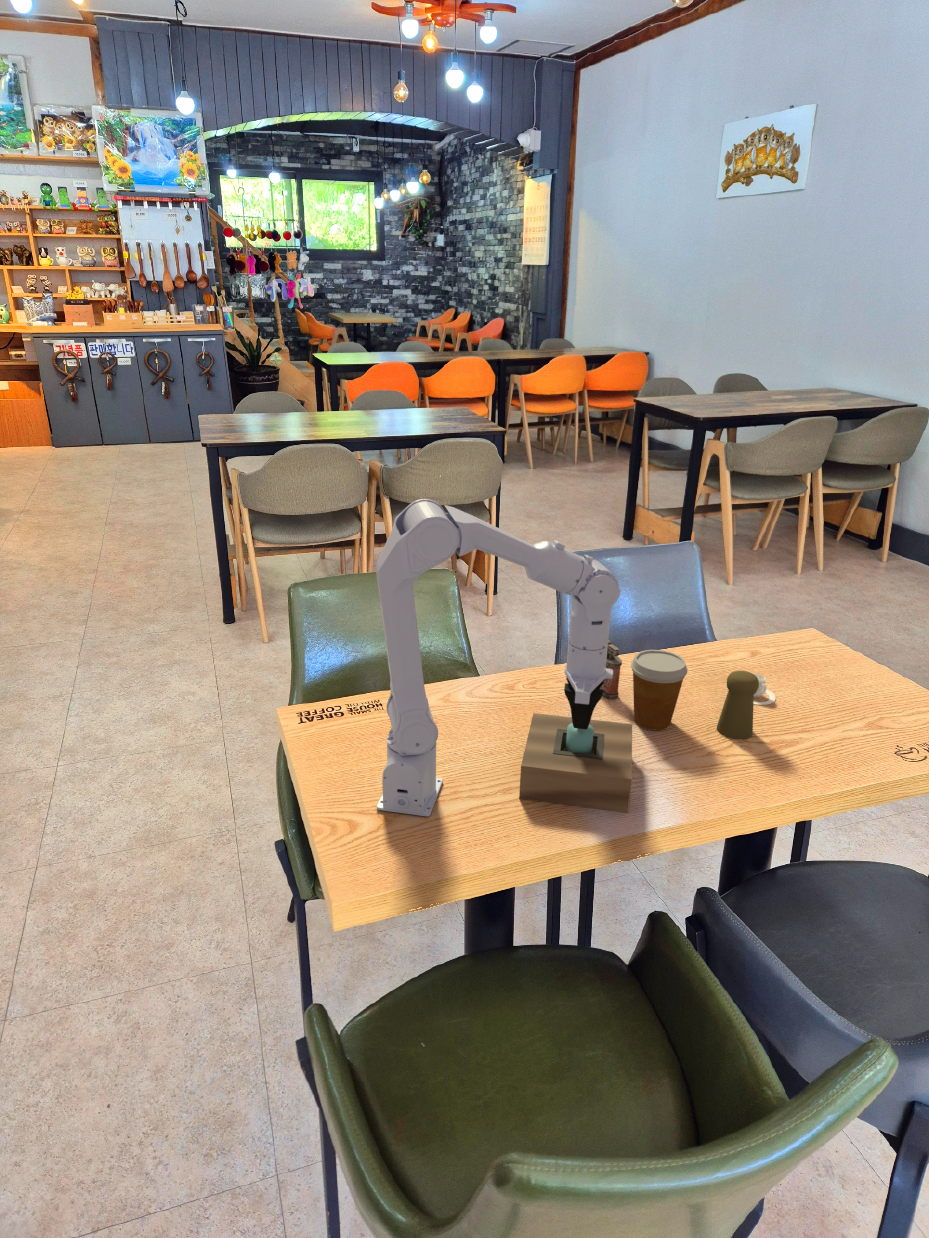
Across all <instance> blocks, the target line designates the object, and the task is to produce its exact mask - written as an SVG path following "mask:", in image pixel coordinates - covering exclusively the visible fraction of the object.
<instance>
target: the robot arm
mask: <svg viewBox="0 0 929 1238" xmlns="http://www.w3.org/2000/svg"><path fill="white" fill-rule="evenodd" d="M444 507H445V508H446V510H447V511H448V512H446V511H445V510H444V508H443V506H442V505H441V504H439V503H438V502H437V501H435V500H432V499H430V498H429V499H428V498H420V499H417V500H413V502H410V503H409V504H408V505H407V506H406V507H405V508H404V509H403V510H402V511H401V512H400V513H399V514H398V515H397V516H395V518H394V520H393V525H392V529H391V531H390V533H389V535H388V538H387V539H386V542H385V544H384V546H383V548H382V550H381V552H380V555H379V557H378V559H377V561H376V564H375V565H376V566H375V573H376V581H377V589H378V596H379V602H380V603H379V605H380V612H381V619H382V626H383V634H384V640H385V641H384V642H385V648H386V654H387V655H386V656H387V664H388V672H389V679H390V683H389V687H390V693H389V697H388V699H387V702H386V713H387V715H388V717H389V722H390V725H391V728H390V730H389V731H388V734H387V737H386V757H387V758H386V759H387V761H386V765H385V767H384V770H383V772H382V794H381V795H380V798H379V800H378V802H377V804H376V809H377V810H378V811H384V812H392V813H398V814H400V813H401V814H407V815H414V816H421V817H430V816H431V813H432V811H433V809H434V806H435V803H436V802H437V801H436V800H437V798H438V795H439V793H440V790H441V787H442V784H443V782H444V779H443V778H442V777H438V776H437V742H438V741H437V740H438V737H439V729H438V726H437V724H436V722H435V721H434V717H433V714H432V711H431V709H430V707H429V705H430V704H429V699H428V697H427V693H426V688H425V681H424V674H423V673H424V672H423V663H422V655H421V646H420V637H419V628H418V621H417V620H418V619H417V618H418V617H417V611H416V602H415V601H416V600H415V594H414V583H415V582H416V580H417V579H419V578H420V577H421V576H422V575H423V573H425V572H427V571H429V570H431V569H433V568H434V567H437V566H439V565H440V564H443V563H445V562H446V561H447V560H449V559H450V558H451V557H453V555H454V554H455V553H457V554H458V556H459V557H464V555H467V554H469V553H471V552H473V551H476V550H479V551H481V552H484V553H487V554H489V555H492V556H495V557H497V558H499V559H502V560H505V561H508V562H511V563H513V564H516V565H519V566H521V567H524V570H525V574H526V577H527V578H528V579H529V580H530V581H531V580H532V581H534V582H536V583H539V584H541V585H544V586H546V587H548V588H551V589H552V590H555V591H557V592H560V593H562V594H564V595H568V596H571V597H572V598H571V608H570V617H569V630H568V631H569V632H568V640H567V641H568V642H567V652H566V653H567V655H566V656H567V657H566V664H565V667H564V674H565V680H566V682H567V683H565V684H564V690H563V691H564V695H565V698H566V699H567V701H568V704H569V707H570V714H571V715H570V716H571V717H572V723H573V727H574V728H578V729H587V728H588V726H589V724H590V720H592V716H593V713H594V710H595V709H596V706H597V705H598V703H599V702H600V701H601V699H602V698H603V697H602V695H603V690H602V689H600V687H601V686H602V684H603V683H604V679H612V678H613V670H612V669H607V668H606V658H607V648H608V640H609V638H610V637H609V636H610V625H611V619H612V618H611V617H612V615H611V613H612V608H613V606H614V605H615V603H616V602H617V601H618V599H619V598H620V596H621V591H622V590H621V589H620V588H619V582H618V579H617V578H616V576H615V574H614V573H613V572H612V571H611V570H609V569H608V568H607V567H606V566H605V565H603V564H602V563H601V562H600V561H598V560H597V559H595V557H593V556H589V555H588V554H583V556H582V555H580V554H578V553H575V552H572V551H571V550H568V549H566V548H565V547H566V546H565V544H564V543H562V541H559V540H557V539H554V540H553V542H550V541H548V540H542V541H538V542H536V543H533V544H532V543H530V542H528V541H525V540H523V539H522V538H519V537H517V536H515V535H513V534H511V533H509V532H507V531H506V530H503V529H502V528H499V527H497V526H494V525H493V524H491V523H488V522H487V521H485V520H483V519H481V518H478V517H476V516H474V515H472V514H470V513H468V512H466V511H464V510H463V511H462V510H461V509H459V508H456V507H453V506H450V505H447V504H444Z"/></svg>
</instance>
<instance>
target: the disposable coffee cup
mask: <svg viewBox="0 0 929 1238" xmlns="http://www.w3.org/2000/svg"><path fill="white" fill-rule="evenodd" d="M630 668H631V671H632V688H633V689H632V691H633V720H634V723H635V724H636V725H637V726H639V727H641V728H642V729H646V730H649V731H663V730H667V729H668V728H669V727H670V726H671V723H672V719H673V716H674V712H675V709H676V706H677V703H678V699H679V695H680V692H681V688H682V685H683V682H684V679H685V678H686V675H688V670H689V669H688V668H687V664H686V660H685V659H684V658H683V657H682V656H680V655H678V654H676V653H674V652H672V651H667V650H664V649H663V650H661V649H660V650H659V649H645V650H641V651H639V652H637V653H636V654H635V655H634V657H633V659H632V660H631V663H630Z"/></svg>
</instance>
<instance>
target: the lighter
mask: <svg viewBox="0 0 929 1238" xmlns="http://www.w3.org/2000/svg"><path fill="white" fill-rule="evenodd" d="M619 655H620V649H619V648H618V647H617V646H615V645H614V644H613V643H612V641H611V640H609V639H608V648H607V658H606V668H607V669H612V670H613V678H612V679H604V683H603V684H602V686H601V687H600V689H602V690H603V695H602V697H601V698H604V699H606V700H610V701H615V700H617V699H619V694H620V693H619V686H620V675H621V666H622V664H623V660H622V658H620V657H619Z"/></svg>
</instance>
